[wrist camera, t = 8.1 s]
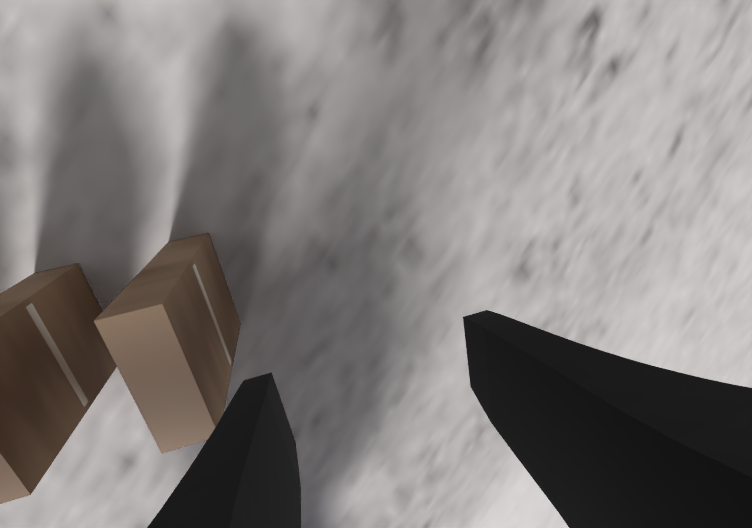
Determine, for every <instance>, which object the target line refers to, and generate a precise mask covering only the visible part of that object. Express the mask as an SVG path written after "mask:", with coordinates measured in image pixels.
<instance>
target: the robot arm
mask: <svg viewBox="0 0 752 528" xmlns="http://www.w3.org/2000/svg"><path fill="white" fill-rule="evenodd" d="M463 320H464V330H465V339H466V348H467V357H468V366H469V376H470V385H471V388H472V390H473V391H474V393H475V395H476V397H477V399H478V400H479V402H480V404H481V406H482V408H483V409H484V411H485V413H486V414H487V416H488V418H489V419H490V421H491V423H492V424H493V426H494V427H495V428H496V430H497V431H498V432H499V434H500V435H501V436H502V438H503V439H504V440H505V442H506V443H507V444H508V446H509V447H510V449H511V450H512V451H513V453H514V454H515V455H516V457H517V458H518V459H519V460H520V462H521V463H522V464H523V466H524V467H525V468H526V470H527V471H528V472H529V474H530V475H531V476H532V478H533V479H534V480H535V482H536V483H537V484H538V486H539V487H540V488H541V490H542V491H543V492H544V494H545V495H546V496H547V498H548V499H549V500H550V502H551V503H552V504H553V505H554V507H555V508H556V509H557V511H558V512H559V514H560V515H561V517H562V518H563V519H564V521H565V522H566V524H567V525H568V527H569V528H752V388H748V387H743V386H738V385H732V384H727V383H722V382H718V381H713V380H708V379H704V378H699V377H695V376H691V375H687V374H683V373H679V372H675V371H671V370H667V369H663V368H659V367H655V366H651V365H647V364H644V363H640V362H637V361H633V360H630V359H626V358H623V357H620V356H617V355H614V354H610V353H607V352H604V351H601V350H598V349H594V348H592V347H589V346H586V345H583V344H580V343H577V342H574V341H571V340H568V339H565V338H563V337H560V336H557V335H554V334H552V333H549V332H546V331H544V330H541V329H538V328H536V327H533V326H530V325H528V324H525V323H522V322H520V321H517V320H514V319H512V318H509V317H506V316H503V315H501V314H498V313H495V312H491V311H488V310H486V311H482V312H479V313H476V314H472V315H469V316H465V317H463ZM147 528H301V487H300V477H299V468H298V460H297V451H296V443H295V440H294V437H293V434H292V431H291V428H290V425H289V422H288V419H287V416H286V413H285V410H284V407H283V404H282V402H281V399H280V396H279V393H278V390H277V387H276V384H275V381H274V378H273V375H272V373H268V374H265V375H261V376H258V377H254V378H251V379H248V380H244V381H243V382H242V384H241V386H240V387H239V389H238V390H237V392H236V394H235V395H234V397H233V399H232V400H231V402H230V404H229V405H228V407H227V409H226V410H225V412H224V414H223V415H222V417H221V419H220V420H219V422H218V424H217V425H216V427H215V429H214V430H213V432H212V434H211V435H210V437H209V438H208V440H207V441H206V443H205V445H204V446H203V448H202V449H201V451H200V453H199V454H198V456H197V457H196V459H195V460H194V462H193V464H192V465H191V467H190V468H189V470H188V471H187V472H186V474H185V475H184V477H183V478H182V480H181V481H180V483H179V484H178V485H177V487H176V488H175V490H174V491H173V493H172V494H171V496H170V497H169V498H168V500H167V501H166V503H165V504H164V506H163V507H162V509H161V510H160V511H159V513H158V514H157V515H156V517H155V518H154V519H153V521H152V522H151V523H150V525H149V526H148V527H147Z"/></svg>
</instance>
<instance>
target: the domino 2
mask: <svg viewBox="0 0 752 528" xmlns="http://www.w3.org/2000/svg"><path fill="white" fill-rule="evenodd" d="M94 323H95V325H96V326H97V328H98V330H99V332H100V334H101V336H102V338H103V340H104V342H105V344H106V346H107V348H108V350H109V352H110V354H111V356H112V358H113V360H114V362H115V363H116V365H117V367H118V369H119V371H120V373H121V375H122V377H123V379H124V381H125V383H126V385H127V387H128V389H129V391H130V393H131V395H132V397H133V399H134V400H135V402H136V404H137V406H138V408H139V410H140V412H141V414H142V416H143V418H144V420H145V422H146V424H147V426H148V428H149V430H150V432H151V434H152V436H153V438H154V439H155V441H156V443H157V445H158V447H159V449H160V451H161V453H165V452H169V451H172V450H175V449H178V448H182V447H185V446H188V445H191V444H195V443H198V442H201V441H205V440H208V438H209V437H210V435H211V434H212V432H213V430H214V429H215V427H216V425H217V424H218V422H219V420H220V419H221V417H222V415H223V413H224V408H225V402H226V397H227V392H228V387H229V382H230V376H231V371H232V366H233V361H234V356H235V351H236V345H237V340H238V335H239V330H240V325H241V323H240V320H239V318H238V315H237V312H236V309H235V306H234V303H233V300H232V298H231V295H230V292H229V289H228V286H227V283H226V281H225V278H224V275H223V272H222V269H221V266H220V264H219V261H218V258H217V255H216V252H215V249H214V246H213V244H212V241H211V238H210V235H209V233H206V234H202V235H197V236H193V237H188V238H184V239H179V240H175V241H170V242H168V243H167V244H166V245H165V246H164V247H163V248H162V249H161V250H160V252H159V253H158V254H157V255H156V256H155V257H154V258H153V259H152V260H151V261H150V262H149V263H148V264H147V265H146V266H145V267H144V268H143V269H142V271H141V272H140V273H139V274H138V275H137V276H136V277H135V278H134V279H133V280H132V281H131V282H130V283H129V284H128V285H127V286H126V287H125V288H124V289H123V291H122V292H121V293H120V294H119V295H118V296H117V297H116V298H115V299H114V300H113V301H112V302H111V303H110V304H109V305H108V306H107V307H106V308H105V310H104V311H103V312H102V313H101V314H100V315H99V316H98V317H97V318H96V319H95V320H94Z"/></svg>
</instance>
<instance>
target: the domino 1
mask: <svg viewBox="0 0 752 528" xmlns="http://www.w3.org/2000/svg"><path fill="white" fill-rule="evenodd" d="M102 312H103V311H102V309H101V307H100V305H99V303H98V301H97V299H96V297H95V296H94V294H93V292H92V290H91V288H90V286H89V284H88V282H87V280H86V278H85V276H84V274H83V272H82V270H81V268H80V266H79V264H78V263H77V264H73V265H68V266H64V267H60V268H55V269H51V270H47V271H42V272H38V273H34V274H32V275H31V276H29V277H27V278H26V279H24V280H22V281H21V282H19V283H17V284H16V285H14V286H12V287H11V288H9V289H7V290H6V291H4V292H2V293H1V294H0V504H2V503H5V502H8V501H12V500H15V499H18V498H21V497H25V496H28V495H31V493H32V492H33V490H34V489H35V487H36V486H37V484H38V483H39V481H40V480H41V478H42V477H43V475H44V474H45V472H46V471H47V470H48V468H49V467H50V465H51V464H52V462H53V461H54V459H55V458H56V456H57V455H58V453H59V452H60V450H61V449H62V447H63V446H64V444H65V443H66V441H67V440H68V438H69V437H70V435H71V434H72V432H73V431H74V429H75V428H76V426H77V425H78V423H79V422H80V421H81V419H82V418H83V416H84V415H85V413H86V412H87V410H88V409H89V407H90V406H91V404H92V403H93V401H94V400H95V398H96V397H97V395H98V394H99V392H100V391H101V389H102V388H103V386H104V385H105V383H106V382H107V380H108V379H109V377H110V376H111V374H112V373H113V371H114V370H115V369H116V367H117V365H116V363H115V362H114V360H113V358H112V356H111V354H110V352H109V350H108V348H107V346H106V344H105V342H104V340H103V338H102V336H101V334H100V332H99V330H98V328H97V326H96V325H95V323H94V320H95V319H96V318H97V317H98V316H99V315H100V314H101V313H102Z"/></svg>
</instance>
